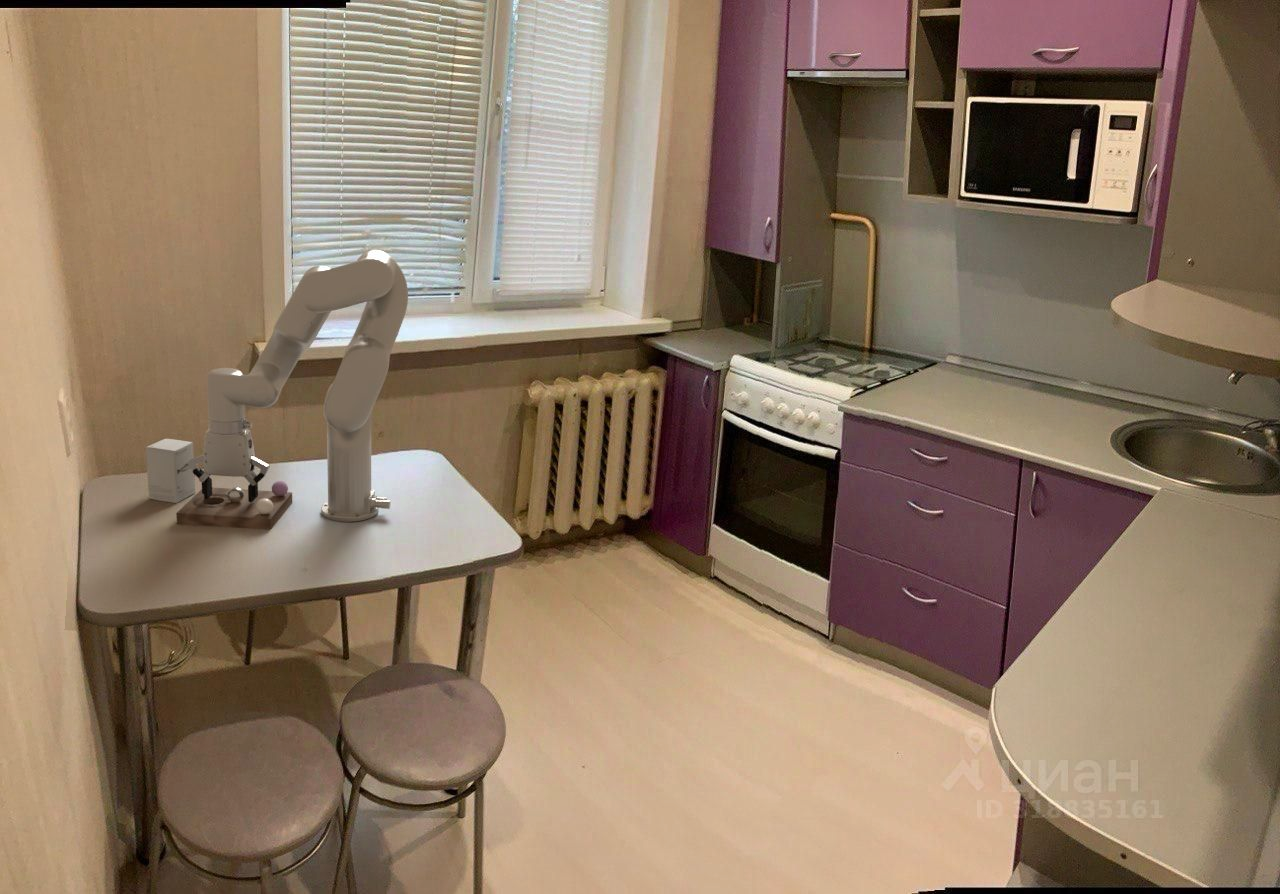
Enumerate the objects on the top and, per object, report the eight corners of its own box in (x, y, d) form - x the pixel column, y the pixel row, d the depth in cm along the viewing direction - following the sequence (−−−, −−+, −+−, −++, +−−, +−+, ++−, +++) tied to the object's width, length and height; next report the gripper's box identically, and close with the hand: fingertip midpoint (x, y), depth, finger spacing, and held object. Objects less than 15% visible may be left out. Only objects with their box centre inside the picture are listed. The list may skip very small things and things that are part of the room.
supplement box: (177, 504, 234) (173, 451, 230) (147, 499, 236) (144, 446, 232) (197, 493, 241) (194, 441, 237) (168, 488, 242) (165, 437, 239)
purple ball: (290, 493, 239) (289, 479, 238) (285, 499, 235) (285, 484, 234) (274, 492, 238) (274, 478, 237) (269, 498, 235) (269, 483, 234)
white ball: (275, 511, 228) (274, 496, 227) (270, 517, 225) (269, 502, 224) (259, 510, 228) (258, 495, 227) (254, 516, 225) (253, 501, 224)
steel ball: (246, 500, 233) (246, 485, 232) (241, 505, 230) (240, 491, 229) (231, 499, 233) (230, 484, 232) (225, 504, 230) (224, 490, 228)
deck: (292, 502, 240) (292, 492, 239) (270, 529, 225) (270, 518, 224) (204, 497, 239) (203, 486, 238) (177, 523, 224) (176, 513, 223)
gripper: (273, 423, 230) (275, 495, 235) (193, 417, 229) (197, 490, 234) (262, 433, 223) (264, 507, 228) (180, 427, 222) (184, 502, 227)
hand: (230, 498), depth 231 cm, fingers open, 9 cm apart
